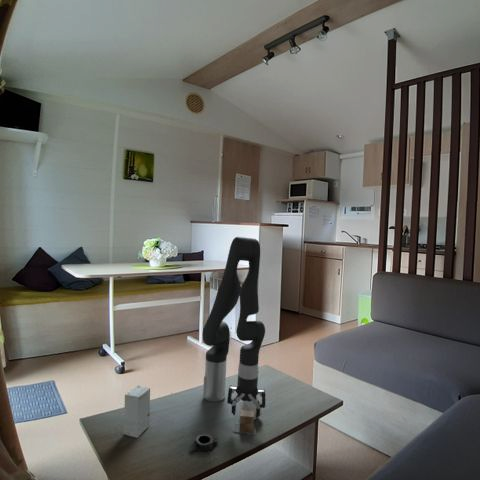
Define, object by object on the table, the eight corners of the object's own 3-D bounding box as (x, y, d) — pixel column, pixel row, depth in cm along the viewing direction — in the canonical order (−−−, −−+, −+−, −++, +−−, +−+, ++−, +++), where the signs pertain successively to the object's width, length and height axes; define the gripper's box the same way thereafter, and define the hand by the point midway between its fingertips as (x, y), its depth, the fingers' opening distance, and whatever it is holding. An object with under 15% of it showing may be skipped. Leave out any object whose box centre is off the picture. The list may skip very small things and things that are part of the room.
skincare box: (137, 438, 123) (138, 397, 123) (122, 434, 125) (123, 394, 124) (150, 425, 131) (151, 387, 131) (136, 422, 133) (137, 384, 132)
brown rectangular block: (239, 431, 130) (240, 415, 129) (240, 425, 134) (241, 409, 133) (252, 432, 129) (253, 417, 129) (253, 426, 133) (254, 411, 133)
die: (265, 423, 137) (265, 396, 143) (253, 420, 131) (253, 392, 137) (247, 424, 142) (248, 397, 147) (235, 421, 136) (236, 393, 141)
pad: (233, 432, 129) (233, 431, 129) (235, 424, 134) (235, 423, 134) (255, 434, 129) (255, 433, 129) (256, 426, 134) (256, 425, 134)
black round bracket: (218, 455, 117) (218, 447, 117) (188, 454, 117) (188, 446, 116) (218, 440, 125) (219, 433, 125) (190, 440, 124) (191, 432, 124)
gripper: (227, 376, 127) (225, 418, 128) (266, 380, 126) (264, 423, 127) (230, 367, 135) (228, 407, 136) (267, 371, 133) (264, 412, 134)
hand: (245, 415), depth 131 cm, fingers open, 8 cm apart
